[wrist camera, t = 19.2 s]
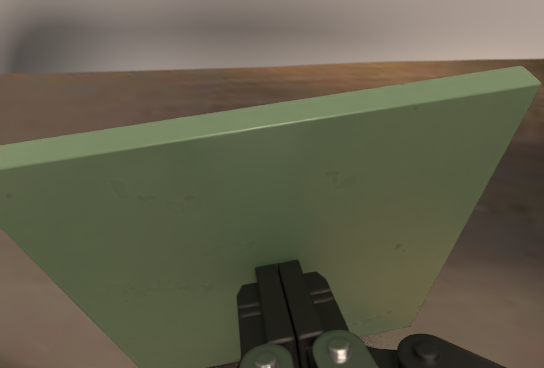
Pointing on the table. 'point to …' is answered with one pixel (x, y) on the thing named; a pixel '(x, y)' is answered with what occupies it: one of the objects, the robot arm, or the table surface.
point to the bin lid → (260, 207)
